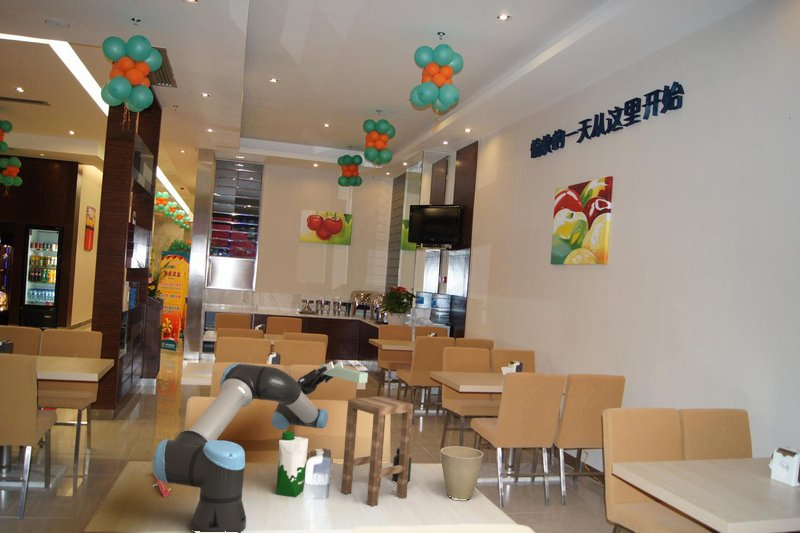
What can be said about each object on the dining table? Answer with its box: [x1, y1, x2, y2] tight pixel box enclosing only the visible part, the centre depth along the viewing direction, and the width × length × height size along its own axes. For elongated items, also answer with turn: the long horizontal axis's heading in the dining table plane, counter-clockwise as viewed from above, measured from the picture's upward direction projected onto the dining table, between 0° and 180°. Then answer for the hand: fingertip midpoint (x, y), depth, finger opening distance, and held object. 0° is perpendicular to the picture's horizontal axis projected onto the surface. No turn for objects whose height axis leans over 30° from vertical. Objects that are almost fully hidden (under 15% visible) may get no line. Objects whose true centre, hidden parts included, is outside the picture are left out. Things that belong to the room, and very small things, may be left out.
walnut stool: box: [340, 395, 414, 508], centre depth 210 cm, size 16×16×32 cm
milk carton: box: [275, 430, 309, 498], centre depth 206 cm, size 9×9×20 cm
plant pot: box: [440, 446, 484, 499], centre depth 214 cm, size 15×15×16 cm
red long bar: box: [152, 471, 172, 498], centre depth 204 cm, size 24×2×5 cm
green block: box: [319, 363, 369, 384], centre depth 233 cm, size 24×4×4 cm, turn 44°
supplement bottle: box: [391, 446, 413, 483], centre depth 227 cm, size 7×7×12 cm
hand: (337, 364), depth 236 cm, fingers closed on green block, 4 cm apart
